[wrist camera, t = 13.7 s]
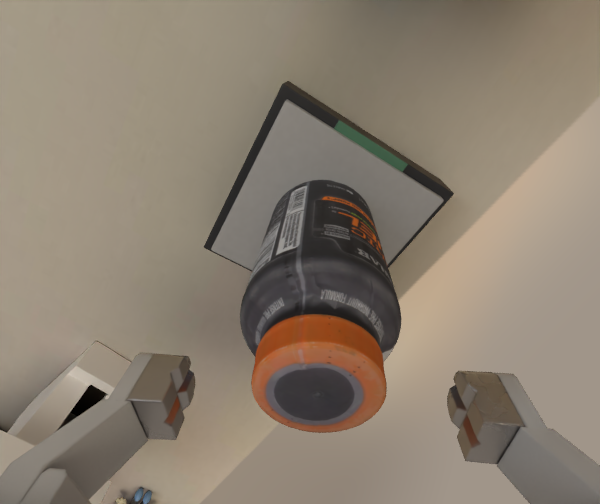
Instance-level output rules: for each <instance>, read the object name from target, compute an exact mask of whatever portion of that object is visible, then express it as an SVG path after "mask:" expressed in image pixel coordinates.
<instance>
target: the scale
mask: <svg viewBox="0 0 600 504" xmlns="http://www.w3.org/2000/svg"><path fill="white" fill-rule="evenodd" d="M312 180H332V181H335V182H338V183H342V184H345V185H347V186H349V187H351V188H352V189H354V190H355V191H356V192H358V193H359V194H360V195H361V196H362V198H363V199H364V200H365V201H366V203H367V205H368V207H369V209H370V211H371V214H372V217H373V220H374V223H375V227H376V230H377V233H378V237H379V239H380V243H381V247H382V250H383V253H384V257H385V260H386V263H387V267H388V268H389V266H390V265H391V264H392V263H393V262H394V261H395V260H396V259H397V257H398V256H399V255H400V254H401V253H402V252H403V251H404V250H405V248H406V247H407V246H408V245H409V244H410V243H411V242H412V241H413V239H414V238H415V237H416V236H417V235H418V234H419V233H420V232H421V230H422V229H423V228H424V227H425V226H426V225H427V224H428V223H429V221H430V220H431V219H432V218H433V217H434V216H435V215H436V213H437V212H438V211H439V210H440V209H441V208H442V207H443V206H444V204H445V203H446V202H447V201H448V200H449V199H450V198H451V197H452V195H453V194H454V193H453V192H452V191H451V190H450V189H449V188H448V187H447V186H446V185H445V184H444V183H443V182H442V181H441V180H440V179H439V178H437V177H436V176H434V175H433V174H431V173H429V172H428V171H426V170H425V169H423V168H422V167H420V166H419V165H417V164H416V163H414V162H412V161H411V160H409V159H408V158H406V157H405V156H403V155H402V154H400V153H399V152H397V151H396V150H394V149H392V148H391V147H389V146H388V145H386V144H385V143H383V142H382V141H380V140H379V139H377V138H375V137H374V136H372V135H371V134H369V133H368V132H366V131H365V130H363V129H362V128H360V127H359V126H357V125H355V124H354V123H352V122H351V121H349V120H348V119H346V118H345V117H343V116H342V115H340V114H338V113H337V112H335V111H334V110H332V109H331V108H329V107H328V106H326V105H325V104H323V103H322V102H320V101H318V100H317V99H315V98H314V97H312V96H311V95H309V94H308V93H306V92H305V91H303V90H301V89H300V88H298V87H297V86H295V85H294V84H292V83H291V82H289V81H287V82H285V83H284V84H282V86H281V88H280V90H279V92H278V94H277V97H276V99H275V101H274V103H273V105H272V107H271V109H270V111H269V113H268V115H267V117H266V119H265V121H264V123H263V125H262V128H261V130H260V132H259V134H258V136H257V138H256V140H255V142H254V144H253V146H252V148H251V150H250V152H249V154H248V156H247V159H246V161H245V163H244V165H243V167H242V169H241V171H240V173H239V175H238V177H237V179H236V181H235V183H234V185H233V187H232V190H231V192H230V194H229V196H228V198H227V200H226V202H225V204H224V206H223V208H222V210H221V212H220V214H219V216H218V218H217V221H216V223H215V225H214V227H213V229H212V231H211V233H210V235H209V237H208V239H207V241H206V243H205V245H204V248H206V249H208V250H210V251H212V252H214V253H216V254H218V255H220V256H222V257H224V258H226V259H228V260H230V261H232V262H234V263H236V264H238V265H240V266H242V267H244V268H246V269H248V270H250V271H253V267H254V265H255V262H256V259H257V257H258V254H259V251H260V248H261V245H262V242H263V239H264V237H265V234H266V231H267V228H268V225H269V223H270V220H271V217H272V214H273V211H274V209H275V207H276V205H277V203H278V201H279V200H280V199H281V198H282V196H283V195H284V194H285V193H287V192H288V191H289V190H290V189H292V188H294V187H295V186H297V185H299V184H302V183H304V182H308V181H312Z"/></svg>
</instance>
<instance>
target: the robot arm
mask: <svg viewBox="0 0 600 504" xmlns="http://www.w3.org/2000/svg"><path fill="white" fill-rule="evenodd" d="M190 365H191V362H190V358H189V357H188V356H177V355H165V354H152V353H139V354H138V355H137V356H136V357H135V358H134V359H133V361H132V362H131V364H130V365H129V367H128V369H127V370H126V372H125V373H124V375H123V376H122V378H121V379H120V381H119V382H118V384H117V386H116V387H115V389H114V390H113V392H112V393H111V395H110V396H109V398H108V399H102V400H101V401H99V402H98V403H97V404H95V405H94V406H92V407H91V408H89V409H88V410H86V411H85V412H84V413H82V414H81V415H79V416H78V417H76V418H75V419H73V420H72V421H71V422H69V423H68V424H66V425H65V426H63V427H62V428H60V429H59V430H58V431H56V432H55V433H53V434H52V435H50V436H49V437H47V438H46V439H45V440H43V441H42V442H40V443H39V444H37V445H36V446H34V447H33V448H32V449H30V450H29V451H27V452H26V453H24V454H23V455H21V456H20V457H19V458H17V459H16V460H14V461H13V462H11V463H10V465H9V466H8V467H7V468H6V470H5V471H4V472H3V474H2V475H1V476H0V504H91V502H90V501H89V499H90V498H91V497H92V496H93V495H94V494H95V493H96V492H97V491H98V490H99V489H100V488H101V487H102V486H103V485H104V484H105V483H106V482H107V481H108V480H109V479H110V478H111V477H112V476H113V475H114V474H115V473H116V472H117V471H118V470H119V469H120V468H121V467H122V466H123V465H124V464H125V463H126V462H127V461H128V460H129V459H130V458H131V457H132V456H133V455H134V454H135V453H136V452H137V451H138V450H139V449H140V448H141V447H142V446H143V445H144V444H145V443H146V442H147V441H148V439H168V440H176V438H177V436H178V433H179V431H180V428H181V426H182V423H183V421H184V415H183V410H184V409H185V408H186V407H187V406H189V405H190V403H191V400H192V398H193V395H194V389H195V377H194V373H193V372H192V371H190V370H189V368H190ZM454 382H455V384H456V385H455V386H453V387H452V388H450V390H449V393H448V396H447V397H448V398H447V400H448V401H447V402H448V403H447V404H448V405H447V406H448V410H449V415H450V418H451V421H452V422H453V423H454V424H455V425H456V426H457V427H458V428H459V429H460V431H459V433H458V435H457V438H458V441H459V444H460V447H461V450H462V453H463V456H464V458H465V461H470V462H480V463H489V464H498V465H497V467H498V468H499V469H500V470H501V471H502V472H503V474H504V475H505V476H506V477H507V478H508V479H509V480H510V482H511V483H512V484H513V485H514V486H515V487H516V488H517V489H518V491H519V492H520V493H521V494H522V495H523V496H524V497H525V499H526V500H527V501H528V502H529V503H530V504H600V465H598V464H597V463H596V462H595V461H593V460H592V459H591V458H589V457H588V456H587V455H586V454H584V453H583V452H582V451H581V450H579V449H578V448H577V447H576V446H574V445H573V444H572V443H570V442H569V441H568V440H566V439H565V438H564V437H563V436H562V435H560V434H559V433H558V432H557V431H555V430H554V429H548V428H547V427H546V425H545V423H544V422H543V420H542V418H541V417H540V415H539V414H538V412H537V410H536V409H535V407H534V405H533V403H532V402H531V400H530V398H529V397H528V395H527V394H526V392H525V390H524V389H523V387H522V385H521V384H520V382H519V380H518V379H517V377H516V376H515V375H513V374H505V373H492V372H473V371H472V372H471V371H458V372H457V373H456V374H455V376H454Z"/></svg>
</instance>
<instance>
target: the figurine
mask: <svg viewBox="0 0 600 504" xmlns="http://www.w3.org/2000/svg"><path fill="white" fill-rule="evenodd" d="M142 495H143V488H140V489H138V490H137V492H136V494H135V497H134V499H133V500H132V501H131V503H130V504H137V502H138V501H139V500H140V499H141V497H142ZM151 496H152V493H151V491H148V492H146V494H145V495H144V498H143V501H142V502H141V503H140V504H147V503H148V502H149V501H150V499H151ZM115 502H116V503H117V504H125V503H126V502H127V501H126V499H123V497H121V499H120V498H117V500H116V501H115Z"/></svg>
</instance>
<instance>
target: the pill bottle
mask: <svg viewBox="0 0 600 504" xmlns="http://www.w3.org/2000/svg"><path fill="white" fill-rule="evenodd" d="M240 323H241V329H242V333H243V336H244V339H245V342H246V343H247V345H248V347H249V349H250V350H251V352H252V353H253V354H254V356H255V357H256V358H255V366H254V370H253V375H252V381H251V384H252V391H253V395H254V398H255V400H256V402H257V403H258V404H259V406H260V407H261V408H262V410H263V411H264V412H266V413H267V414H268V415H269V416H270V417H271V418H273V419H274V420H276V421H278V422H280V423H281V424H284V425H286V426H288V427H291V428H295V429H299V430H302V431H308V432H318V433H321V432H322V433H326V432H337V431H342V430H347V429H350V428H353V427H356V426H358V425H361V424H363V423H364V422H366V421H367V420H369V419H370V418H371V417H373V415H375V414H376V413H377V412H378V411H379V409H380V408H381V406H382V404H383V403H384V400H385V397H386V379H385V374H384V367H383V362H384V361H385V360H386V358H387V357H388V356H389V355H390V353H391V352H392V350H393V348H394V346H395V344H396V342H397V340H398V337H399V332H400V328H401V313H400V306H399V303H398V299H397V296H396V292H395V290H394V286H393V282H392V279H391V276H390V273H389V270H388V267H387V263H386V260H385V257H384V253H383V250H382V247H381V243H380V239H379V237H378V233H377V230H376V227H375V223H374V220H373V217H372V214H371V211H370V209H369V207H368V205H367V203H366V201H365V200H364V199H363V198H362V196H361V195H360V194H359V193H358V192H356V191H355V190H354V189H352V188H351V187H349V186H347V185H345V184H342V183H338V182H335V181H332V180H312V181H308V182H304V183H302V184H299V185H297V186H295V187H294V188H292V189H290V190H289V191H288V192H287V193H285V194H284V195H283V196H282V198H281V199H280V200H279V201H278V203H277V205H276V207H275V209H274V211H273V214H272V217H271V220H270V223H269V225H268V228H267V231H266V234H265V237H264V239H263V242H262V245H261V248H260V251H259V254H258V257H257V259H256V262H255V265H254V267H253V271H252V274H251V277H250V280H249V283H248V286H247V289H246V292H245V294H244V296H243V300H242V304H241V310H240Z"/></svg>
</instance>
